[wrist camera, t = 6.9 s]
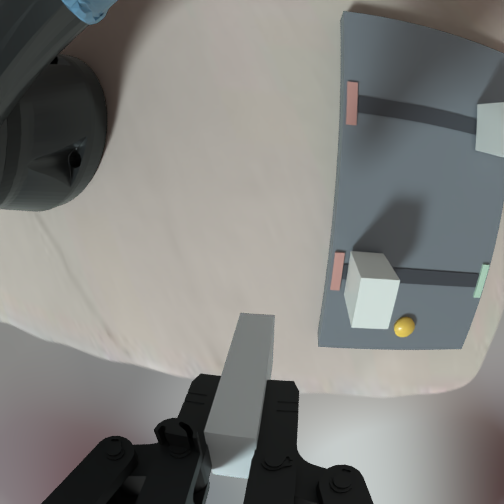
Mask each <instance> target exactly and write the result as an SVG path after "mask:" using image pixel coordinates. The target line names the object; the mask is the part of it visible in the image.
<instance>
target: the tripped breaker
mask: <svg viewBox="0 0 504 504" xmlns="http://www.w3.org/2000/svg"><path fill="white" fill-rule="evenodd" d="M399 283H400V279H399V278H398V276H397V274H396V273H395V271H394V269H393V268H392V266H391V265H390V263H389V261H388V260H387V258H386V257H385V255H384V254H383V253H370V252H358V251H351V252H350V259H349V266H348V273H347V279H346V285H345V291H344V297H345V301H346V306H347V310H348V315H349V319H350V324H351V328H369V329H388V327H389V324H390V320H391V316H392V312H393V308H394V304H395V300H396V296H397V292H398V288H399Z"/></svg>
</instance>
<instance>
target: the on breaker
mask: <svg viewBox="0 0 504 504" xmlns="http://www.w3.org/2000/svg"><path fill="white" fill-rule="evenodd" d="M475 150H476V151H480V152H484V153H488V154H492V155H496V156H499V157H504V102H499V103H487V104H477V132H476V147H475Z"/></svg>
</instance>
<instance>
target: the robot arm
mask: <svg viewBox="0 0 504 504" xmlns="http://www.w3.org/2000/svg"><path fill="white" fill-rule="evenodd" d="M116 1H118V0H0V209H5V210H21V211H45V210H49V209H52V208H55V207H57V206H60V205H63V204H65V203H67V202H69V201H71V200H72V199H74V198H75V197H76V196H78V195H79V194H80V193H81V192H82V191H83V190H84V189H85V187H86V186H87V185H88V183H89V182H90V180H91V179H92V177H93V175H94V173H95V171H96V169H97V167H98V165H99V162H100V159H101V156H102V153H103V149H104V144H105V138H106V129H107V112H106V104H105V98H104V94H103V91H102V88H101V85H100V83H99V81H98V79H97V77H96V75H95V74H94V72H93V71H92V70H91V68H90V67H89V66H88V65H87V64H85V63H84V62H83V61H81V60H80V59H77V58H75V57H72V56H68V55H63V54H59V53H60V52H61V51H62V50H63V49H64V48H65V47H66V46H67V45H68V44H69V43H70V42H71V41H72V40H73V39H74V38H75V37H76V36H77V35H78V34H79V33H80V32H82V31H83V30H84V29H85V28H86V27H87V26H88V25H89V24H90V25H92V24H97V23H98V22H99V21H101V20H102V19H103V18H104V17H105V16H106V14H107V11H108V9H109V8H110V7H111V6H112V5H113V4H114V3H115V2H116ZM274 320H275V315H264V314H249V313H240V317H239V320H238V323H237V326H236V330H235V333H234V336H233V339H232V343H231V346H230V349H229V352H228V356H227V359H226V362H225V365H224V369H223V372H222V375H221V376H216V375H208V374H200V375H199V376H198V377H197V378H196V379H194V380H193V381H192V383H191V385H190V388H189V391H188V394H187V395H186V398H185V402H184V403H183V405H182V408H181V411H180V413H179V415H178V418H171V419H167V420H164V421H162V422H161V423H159V424H158V425H157V426H156V428H155V429H154V432H155V434H156V437H157V439H158V443H155V444H146V445H145V444H143V445H132V443H131V442H130V441H129V440H128V439H126V438H124V437H121V436H111V437H108V438H105V439H103V440H102V441H101V442H99V444H98V445H97V446H96V447H95V448H94V449H93V450H92V451H91V452H90V453H89V454H88V455H87V456H86V457H85V458H84V460H83V461H82V462H81V463H80V464H79V465H78V466H77V467H76V468H75V469H74V470H73V471H72V472H71V473H70V474H69V475H68V477H66V479H65V480H64V481H63V482H62V483H61V484H60V485H59V486H58V487H57V488H56V489H55V490H54V491H53V492H52V493H51V494H50V495H49V496H48V497H47V498H46V500H44V501H43V502H42V504H205V502H206V499H207V495H208V491H209V476H210V472H211V469H212V473H213V474H217V475H223V476H224V475H225V476H231V477H238V478H239V477H240V478H248V482H247V487H246V493H245V498H244V503H243V504H373V501H372V499H371V496H370V494H369V491H368V488H367V486H366V483H365V481H364V478H363V476H362V475H361V473H360V472H359V471H358V470H357V469H355V468H354V467H352V466H348V465H335V466H332V467H330V468H328V469H326V468H322V467H319V466H316V465H313V464H310V463H308V462H307V461H305V460H304V459H303V458H302V457H301V456H300V455H299V453H298V450H297V428H298V403H299V402H298V401H299V390H298V388H297V387H296V385H295V383H294V381H280V380H270V379H271V372H272V364H273V345H274Z"/></svg>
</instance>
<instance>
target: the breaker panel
mask: <svg viewBox="0 0 504 504" xmlns="http://www.w3.org/2000/svg"><path fill="white" fill-rule="evenodd" d="M340 22H341V89H340V120H339V141H338V157H337V172H336V185H335V197H334V209H333V219H332V229H331V238H330V247H329V256H328V264H327V272H326V280H325V287H324V295H323V302H322V308H321V315H320V322H319V328H318V347H334V348H355V349H391V350H434V349H462V346H463V344H464V341H465V339H466V336H467V334H468V331H469V329H470V326H471V323H472V320H473V318H474V315H475V312H476V309H477V306H478V303H479V300H480V297H481V294H482V291H483V288H484V284H485V281H486V278H487V274H488V270H489V267H490V263H491V259H492V255H493V251H494V247H495V243H496V238H497V234H498V229H499V224H500V219H501V214H502V208H503V202H504V157H499V156H496V155H492V154H488V153H484V152H480V151H476V150H475V147H476V132H477V104H487V103H499V102H504V53H502V52H499V51H497V50H494V49H492V48H489V47H487V46H484V45H482V44H479V43H476V42H474V41H471V40H468V39H465V38H462V37H459V36H456V35H453V34H450V33H446V32H443V31H440V30H436V29H433V28H429V27H425V26H421V25H417V24H413V23H409V22H405V21H400V20H395V19H390V18H385V17H380V16H374V15H368V14H362V13H355V12H347V11H343V14H342V17H341V20H340ZM351 251H358V252H370V253H383V254H384V255H385V257H386V258H387V260H388V261H389V263H390V265H391V266H392V268H393V269H394V271H395V273H396V274H397V276H398V278H399V279H400V283H399V288H398V292H397V296H396V300H395V304H394V308H393V312H392V316H391V320H390V324H389V327H388V329H369V328H351V324H350V319H349V315H348V310H347V306H346V301H345V297H344V291H345V285H346V279H347V273H348V266H349V259H350V252H351Z"/></svg>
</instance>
